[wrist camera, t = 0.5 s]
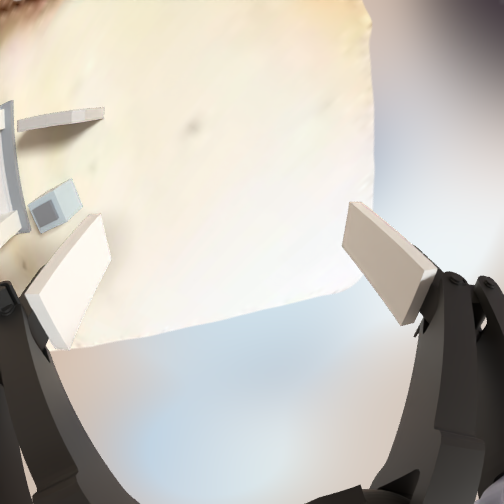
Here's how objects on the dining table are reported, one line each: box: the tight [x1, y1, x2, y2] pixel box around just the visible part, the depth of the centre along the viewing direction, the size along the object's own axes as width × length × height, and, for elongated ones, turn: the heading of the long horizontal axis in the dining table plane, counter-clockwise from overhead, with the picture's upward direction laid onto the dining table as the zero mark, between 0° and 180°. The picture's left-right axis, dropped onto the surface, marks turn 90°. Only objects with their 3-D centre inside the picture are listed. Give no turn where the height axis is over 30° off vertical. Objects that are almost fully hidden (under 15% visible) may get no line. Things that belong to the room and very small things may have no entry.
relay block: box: [28, 178, 83, 233], centre depth 32 cm, size 5×6×7 cm
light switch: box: [17, 107, 105, 132], centre depth 26 cm, size 2×12×8 cm, turn 82°
